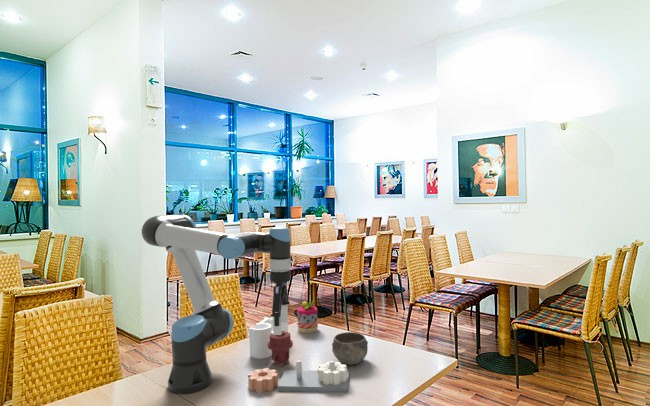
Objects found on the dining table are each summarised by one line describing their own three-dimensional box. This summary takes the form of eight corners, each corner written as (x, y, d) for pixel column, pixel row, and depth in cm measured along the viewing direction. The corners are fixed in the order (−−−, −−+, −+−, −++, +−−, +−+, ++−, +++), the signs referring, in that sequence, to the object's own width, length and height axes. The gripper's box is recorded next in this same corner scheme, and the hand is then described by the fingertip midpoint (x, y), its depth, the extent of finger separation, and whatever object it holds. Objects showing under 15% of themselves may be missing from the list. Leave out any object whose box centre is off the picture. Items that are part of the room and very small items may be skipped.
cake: (294, 332, 199) (293, 302, 198) (302, 326, 209) (301, 297, 208) (314, 334, 195) (313, 303, 195) (321, 327, 205) (320, 298, 205)
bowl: (329, 368, 156) (328, 342, 156) (337, 353, 171) (336, 329, 171) (365, 370, 152) (364, 344, 152) (370, 355, 167) (369, 331, 167)
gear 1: (245, 392, 138) (244, 380, 138) (253, 378, 149) (253, 367, 149) (274, 392, 137) (273, 381, 137) (280, 379, 147) (280, 368, 147)
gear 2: (322, 387, 137) (322, 375, 137) (315, 374, 147) (314, 363, 147) (351, 382, 140) (350, 371, 140) (341, 370, 150) (341, 359, 150)
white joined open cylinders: (268, 359, 166) (267, 330, 166) (247, 357, 169) (246, 328, 169) (291, 339, 190) (291, 313, 190) (273, 337, 193) (272, 312, 193)
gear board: (277, 390, 139) (277, 368, 139) (285, 374, 152) (284, 354, 152) (347, 392, 136) (346, 369, 136) (349, 375, 149) (348, 355, 149)
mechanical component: (296, 358, 167) (289, 368, 157) (273, 357, 169) (264, 367, 159) (295, 328, 166) (288, 336, 157) (272, 327, 168) (263, 335, 159)
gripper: (284, 277, 133) (285, 340, 134) (295, 264, 158) (295, 317, 159) (262, 276, 134) (263, 340, 134) (276, 264, 159) (277, 317, 159)
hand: (280, 328), depth 146 cm, fingers open, 13 cm apart
